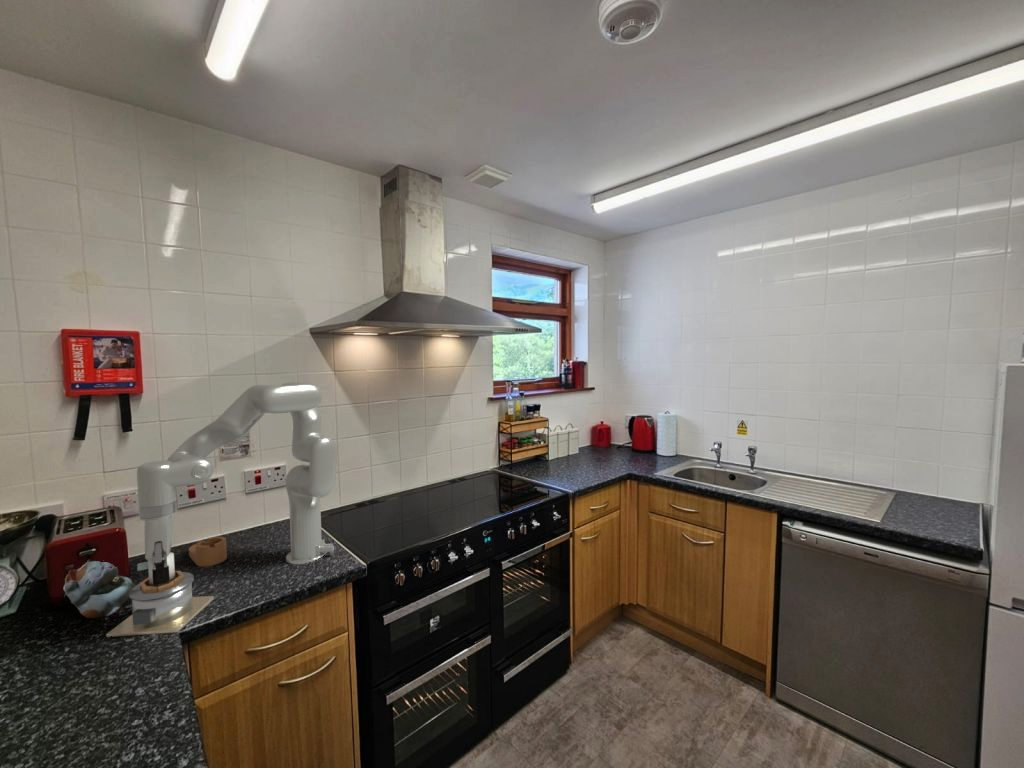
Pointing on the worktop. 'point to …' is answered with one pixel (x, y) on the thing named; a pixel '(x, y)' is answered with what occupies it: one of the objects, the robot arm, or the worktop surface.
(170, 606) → the cylinder on square plate
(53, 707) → the worktop surface
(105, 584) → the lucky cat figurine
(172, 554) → the drain pump
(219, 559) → the brown rounded piece
